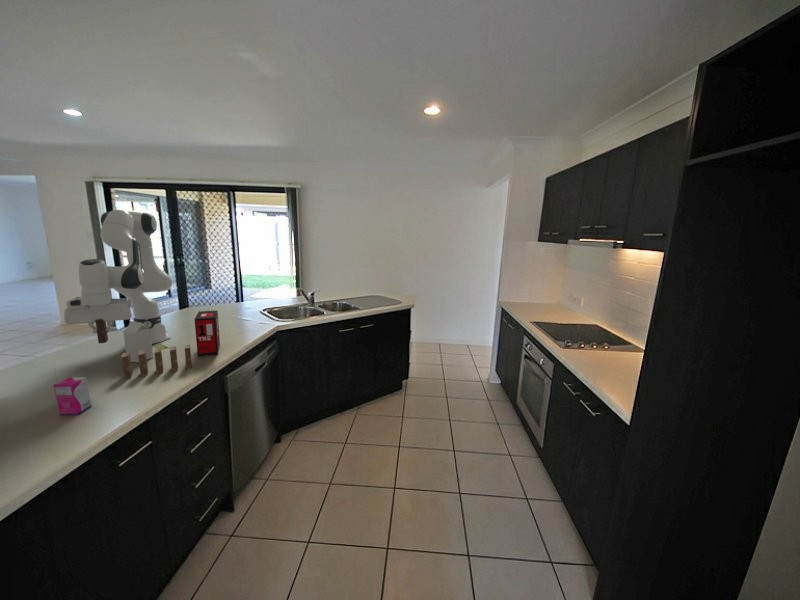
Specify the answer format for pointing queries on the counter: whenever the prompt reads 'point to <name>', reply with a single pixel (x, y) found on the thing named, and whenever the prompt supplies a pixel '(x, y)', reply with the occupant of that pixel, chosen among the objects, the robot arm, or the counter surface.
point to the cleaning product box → (207, 333)
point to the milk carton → (137, 340)
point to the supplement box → (72, 396)
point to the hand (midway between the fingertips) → (102, 331)
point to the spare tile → (101, 331)
